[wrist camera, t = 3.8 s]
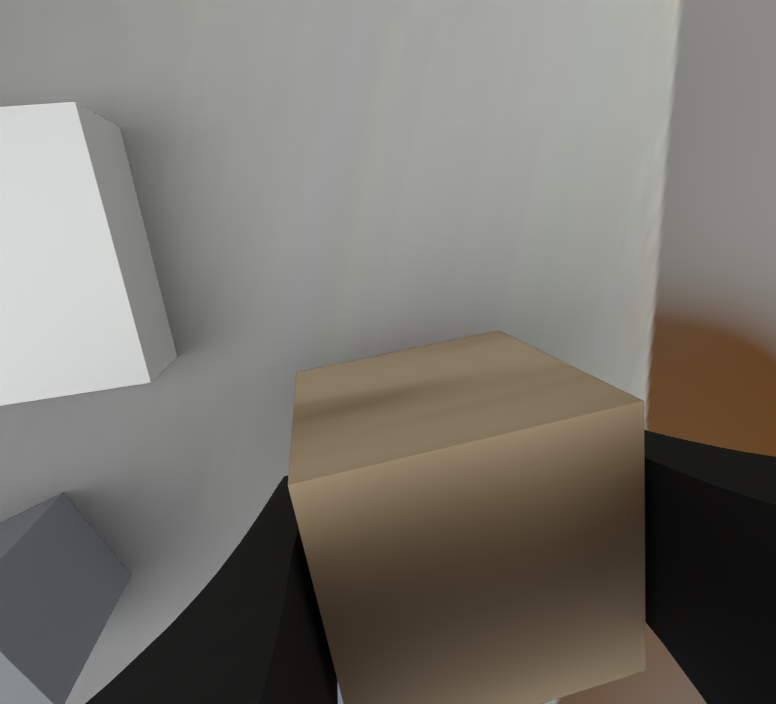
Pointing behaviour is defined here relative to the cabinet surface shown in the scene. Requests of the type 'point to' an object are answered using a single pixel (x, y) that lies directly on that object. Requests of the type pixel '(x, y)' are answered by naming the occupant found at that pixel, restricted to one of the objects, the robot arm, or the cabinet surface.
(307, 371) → the oak block
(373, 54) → the cabinet surface
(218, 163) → the cabinet surface
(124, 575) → the slate block
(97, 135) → the white base block
